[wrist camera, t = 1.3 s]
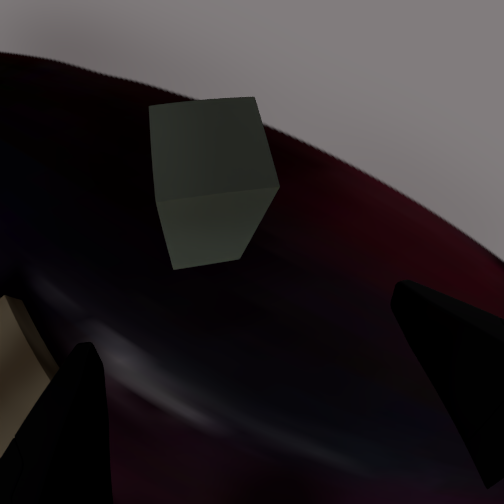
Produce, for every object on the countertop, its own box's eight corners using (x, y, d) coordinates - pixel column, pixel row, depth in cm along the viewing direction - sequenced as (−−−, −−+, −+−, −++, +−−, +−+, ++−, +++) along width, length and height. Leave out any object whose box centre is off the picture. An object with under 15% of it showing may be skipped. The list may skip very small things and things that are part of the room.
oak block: (97, 418, 18) (83, 428, 15) (18, 470, 15) (0, 481, 12) (24, 301, 19) (4, 294, 16) (-45, 364, 16) (-66, 364, 13)
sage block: (239, 259, 22) (279, 186, 12) (173, 269, 21) (155, 202, 11) (227, 198, 23) (254, 96, 13) (165, 207, 22) (148, 106, 12)
